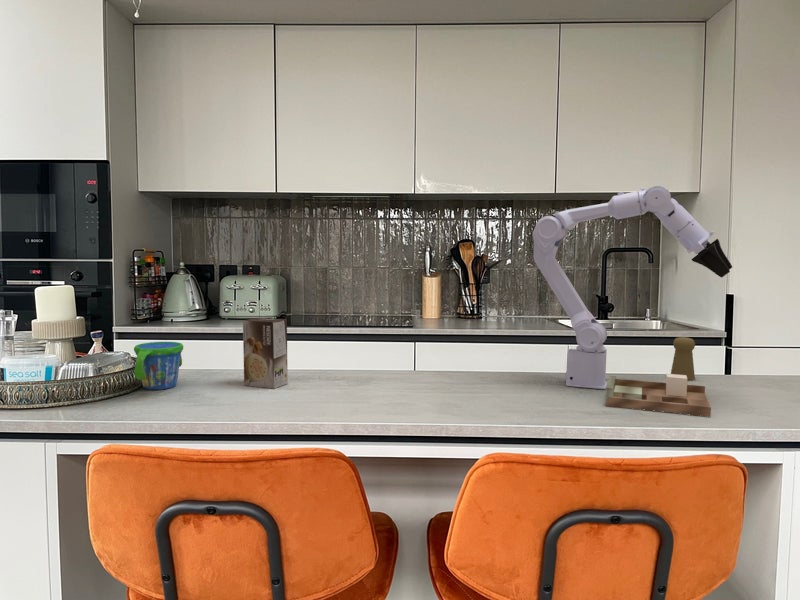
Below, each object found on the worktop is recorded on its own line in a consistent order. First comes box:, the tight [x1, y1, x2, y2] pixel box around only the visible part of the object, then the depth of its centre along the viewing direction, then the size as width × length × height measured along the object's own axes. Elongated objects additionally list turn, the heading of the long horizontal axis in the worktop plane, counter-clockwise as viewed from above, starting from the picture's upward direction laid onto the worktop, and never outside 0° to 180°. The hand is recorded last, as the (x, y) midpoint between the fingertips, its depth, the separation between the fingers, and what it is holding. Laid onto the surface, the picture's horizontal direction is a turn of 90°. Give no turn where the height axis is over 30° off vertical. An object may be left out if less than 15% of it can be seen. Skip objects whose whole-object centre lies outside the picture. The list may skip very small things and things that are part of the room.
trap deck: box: [605, 375, 712, 417], centre depth 129 cm, size 20×14×4 cm
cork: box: [670, 336, 696, 382], centre depth 157 cm, size 6×6×11 cm
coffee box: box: [242, 317, 289, 389], centre depth 143 cm, size 9×6×16 cm
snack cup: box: [133, 341, 184, 391], centre depth 139 cm, size 16×10×10 cm
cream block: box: [665, 373, 688, 397], centre depth 130 cm, size 4×4×4 cm
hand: (727, 272), depth 133 cm, fingers open, 7 cm apart
